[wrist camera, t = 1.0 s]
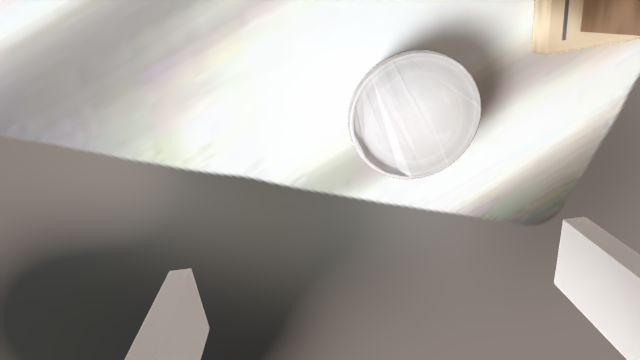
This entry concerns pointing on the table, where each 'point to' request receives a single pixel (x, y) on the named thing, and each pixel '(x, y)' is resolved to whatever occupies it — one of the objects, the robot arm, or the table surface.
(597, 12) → the tan boxy wooden piece
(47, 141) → the table surface
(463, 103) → the ramekin
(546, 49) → the board
